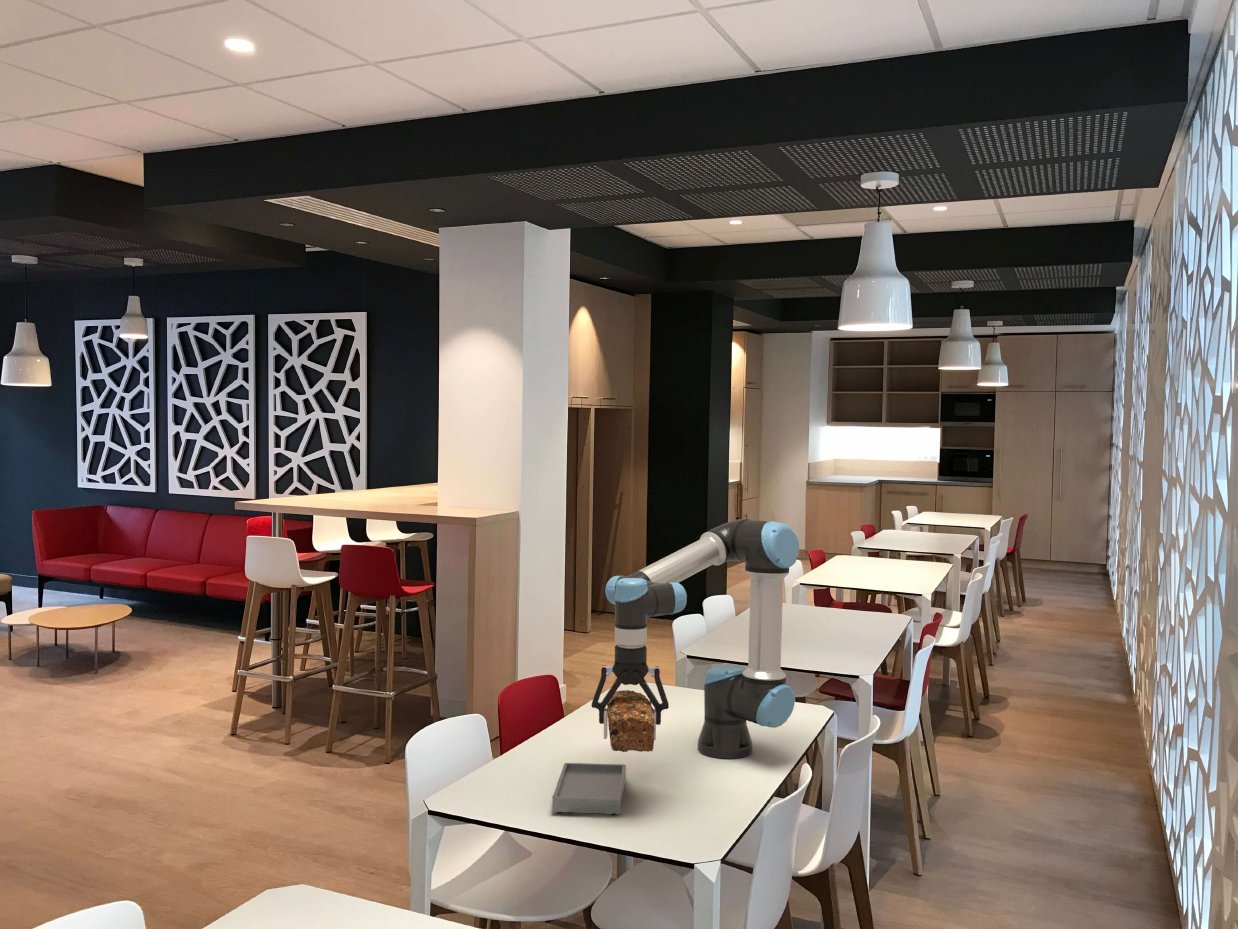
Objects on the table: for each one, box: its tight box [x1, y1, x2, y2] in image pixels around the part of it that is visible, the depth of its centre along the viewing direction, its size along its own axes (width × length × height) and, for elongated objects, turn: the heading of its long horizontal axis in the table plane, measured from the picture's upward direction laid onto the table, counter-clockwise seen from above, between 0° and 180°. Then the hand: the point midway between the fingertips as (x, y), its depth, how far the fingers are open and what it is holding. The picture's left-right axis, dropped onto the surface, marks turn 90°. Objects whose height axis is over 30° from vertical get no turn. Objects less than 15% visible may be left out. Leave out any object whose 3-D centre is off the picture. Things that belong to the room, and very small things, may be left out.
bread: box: [606, 689, 655, 753], centre depth 226 cm, size 19×11×10 cm, turn 2°
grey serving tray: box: [551, 762, 627, 816], centre depth 231 cm, size 16×24×4 cm, turn 176°
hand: (629, 737), depth 226 cm, fingers closed on bread, 11 cm apart
